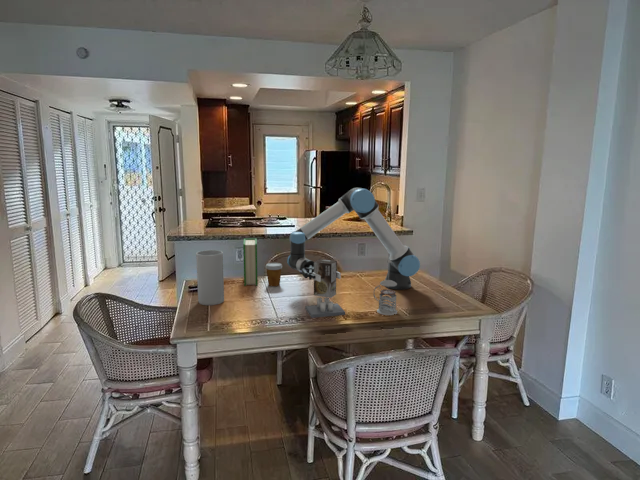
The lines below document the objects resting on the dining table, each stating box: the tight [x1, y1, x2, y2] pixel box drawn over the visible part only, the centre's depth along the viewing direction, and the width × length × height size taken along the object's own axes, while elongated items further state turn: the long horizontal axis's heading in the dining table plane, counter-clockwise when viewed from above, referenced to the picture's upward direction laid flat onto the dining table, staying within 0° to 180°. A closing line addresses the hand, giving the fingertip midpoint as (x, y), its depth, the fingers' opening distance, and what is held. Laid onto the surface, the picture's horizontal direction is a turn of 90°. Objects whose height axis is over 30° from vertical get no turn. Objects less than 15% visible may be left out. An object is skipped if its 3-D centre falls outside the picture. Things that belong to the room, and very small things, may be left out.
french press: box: [373, 259, 398, 316], centre depth 197 cm, size 10×12×25 cm
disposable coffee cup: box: [265, 262, 283, 287], centre depth 239 cm, size 10×10×12 cm
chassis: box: [304, 297, 346, 319], centre depth 197 cm, size 16×12×6 cm
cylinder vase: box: [195, 249, 225, 306], centre depth 208 cm, size 12×12×25 cm
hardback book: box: [242, 237, 258, 287], centre depth 244 cm, size 18×7×24 cm, turn 9°
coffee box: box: [313, 258, 338, 299], centre depth 195 cm, size 9×6×16 cm
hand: (330, 277), depth 191 cm, fingers closed on coffee box, 10 cm apart
